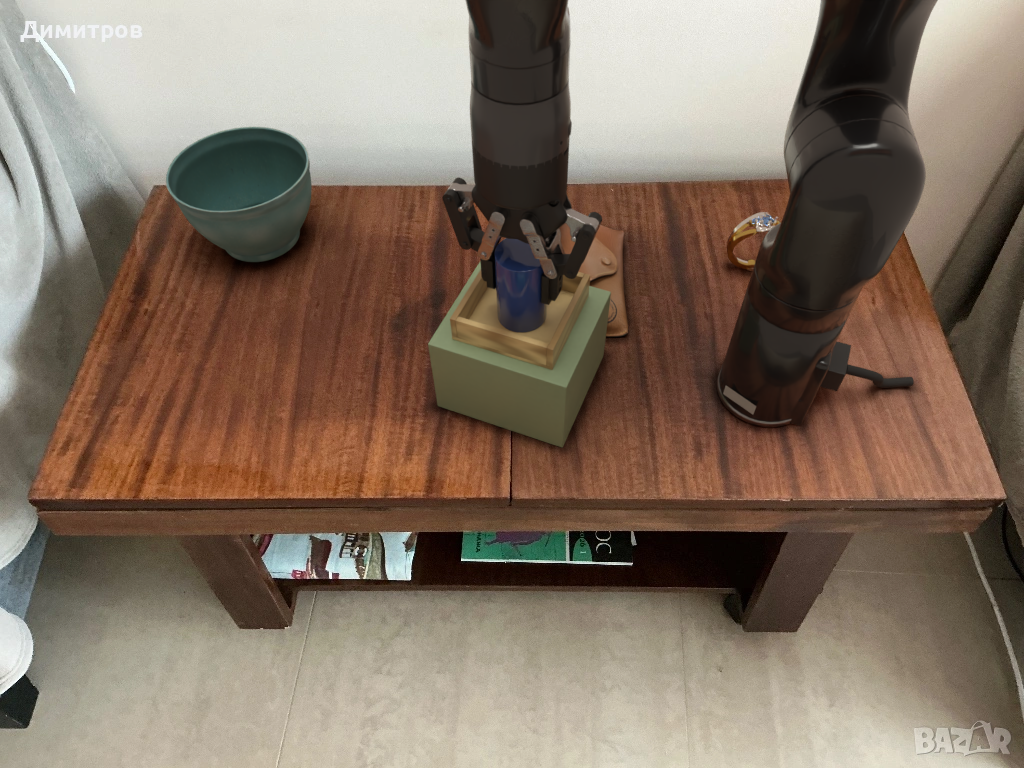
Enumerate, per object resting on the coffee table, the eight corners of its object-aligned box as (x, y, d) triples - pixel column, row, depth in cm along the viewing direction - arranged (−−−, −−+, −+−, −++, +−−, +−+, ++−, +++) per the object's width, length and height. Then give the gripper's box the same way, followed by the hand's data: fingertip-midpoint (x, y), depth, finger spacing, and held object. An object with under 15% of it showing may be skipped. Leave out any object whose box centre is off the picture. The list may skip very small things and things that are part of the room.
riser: (603, 355, 85) (611, 291, 77) (562, 448, 78) (566, 387, 70) (486, 320, 89) (483, 256, 81) (437, 406, 81) (427, 344, 74)
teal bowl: (241, 186, 104) (215, 115, 96) (349, 211, 101) (332, 139, 92) (171, 266, 95) (136, 194, 87) (287, 296, 92) (262, 224, 83)
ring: (721, 276, 92) (736, 224, 86) (719, 258, 94) (733, 206, 88) (781, 279, 92) (800, 227, 86) (777, 260, 94) (795, 208, 88)
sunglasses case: (633, 335, 86) (606, 298, 82) (577, 355, 89) (548, 320, 85) (624, 227, 97) (600, 190, 93) (575, 248, 100) (549, 213, 96)
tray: (588, 296, 77) (590, 274, 75) (552, 370, 71) (553, 349, 69) (494, 269, 80) (493, 248, 77) (452, 339, 74) (449, 318, 72)
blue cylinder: (553, 304, 76) (556, 242, 70) (535, 338, 73) (536, 277, 67) (508, 291, 77) (506, 229, 71) (489, 324, 74) (485, 263, 68)
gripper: (414, 139, 59) (435, 297, 72) (593, 182, 55) (580, 340, 69) (456, 87, 63) (468, 245, 76) (625, 125, 59) (607, 284, 73)
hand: (521, 289), depth 72 cm, fingers closed on blue cylinder, 4 cm apart
